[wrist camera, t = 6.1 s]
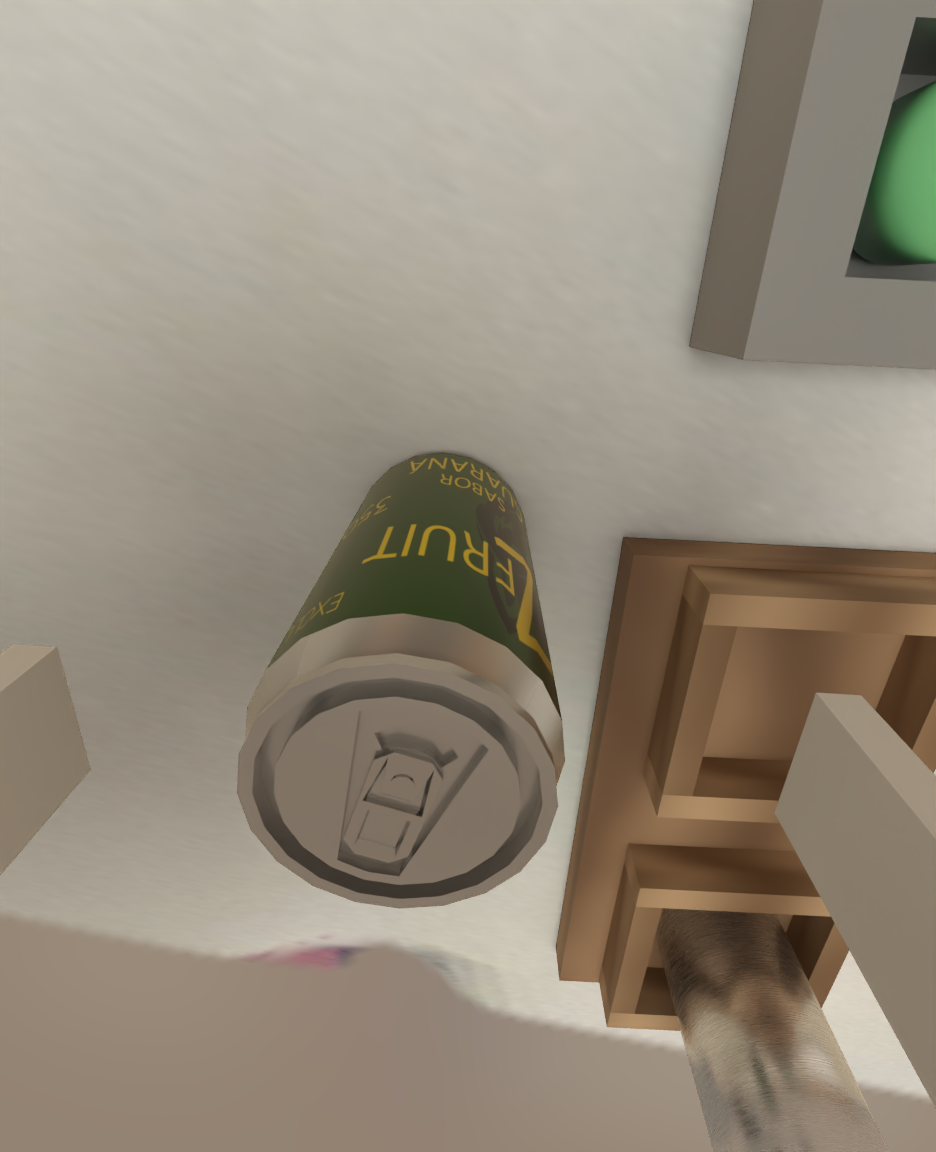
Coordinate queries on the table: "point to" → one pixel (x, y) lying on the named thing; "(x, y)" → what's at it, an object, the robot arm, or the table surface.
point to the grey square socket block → (816, 191)
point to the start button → (903, 186)
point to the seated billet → (759, 1038)
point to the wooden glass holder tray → (727, 743)
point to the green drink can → (411, 701)
